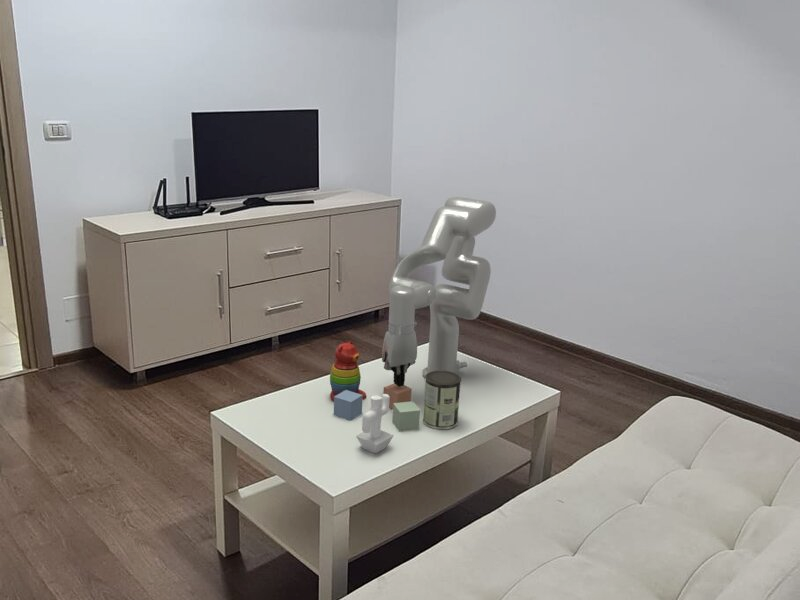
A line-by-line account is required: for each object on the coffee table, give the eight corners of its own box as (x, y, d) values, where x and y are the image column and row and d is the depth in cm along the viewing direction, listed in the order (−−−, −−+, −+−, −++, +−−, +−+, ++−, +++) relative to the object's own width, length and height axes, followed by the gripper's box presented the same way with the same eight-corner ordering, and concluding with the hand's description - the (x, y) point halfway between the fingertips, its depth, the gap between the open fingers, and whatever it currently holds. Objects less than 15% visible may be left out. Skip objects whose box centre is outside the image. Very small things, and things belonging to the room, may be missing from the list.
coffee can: (439, 410, 224) (442, 367, 220) (464, 423, 217) (468, 378, 213) (415, 420, 217) (417, 375, 213) (440, 433, 210) (444, 387, 206)
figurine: (352, 449, 199) (354, 398, 194) (375, 437, 206) (377, 387, 201) (373, 458, 194) (376, 406, 190) (395, 445, 202) (398, 395, 197)
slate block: (345, 408, 222) (345, 389, 221) (361, 413, 220) (362, 395, 218) (333, 415, 217) (334, 396, 216) (350, 421, 215) (351, 402, 213)
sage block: (411, 419, 217) (412, 401, 215) (418, 429, 212) (420, 410, 210) (392, 422, 215) (393, 403, 213) (399, 431, 210) (400, 412, 208)
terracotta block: (396, 399, 230) (397, 382, 228) (410, 406, 226) (411, 388, 224) (382, 405, 226) (383, 387, 224) (396, 412, 222) (397, 393, 220)
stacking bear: (346, 408, 222) (348, 353, 217) (321, 398, 228) (322, 344, 222) (369, 397, 230) (371, 343, 225) (344, 387, 236) (346, 335, 231)
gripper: (414, 319, 225) (412, 374, 231) (373, 328, 217) (371, 385, 223) (429, 327, 219) (426, 384, 225) (387, 336, 211) (384, 394, 217)
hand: (398, 384), depth 224 cm, fingers closed
